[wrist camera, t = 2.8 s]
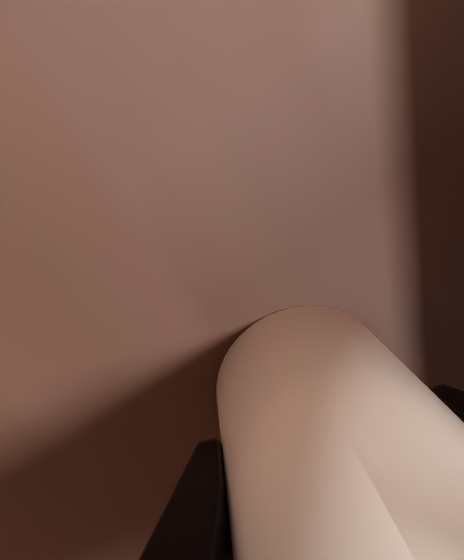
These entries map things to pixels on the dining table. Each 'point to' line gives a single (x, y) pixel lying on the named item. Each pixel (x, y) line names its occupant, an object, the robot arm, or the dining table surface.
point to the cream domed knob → (335, 446)
